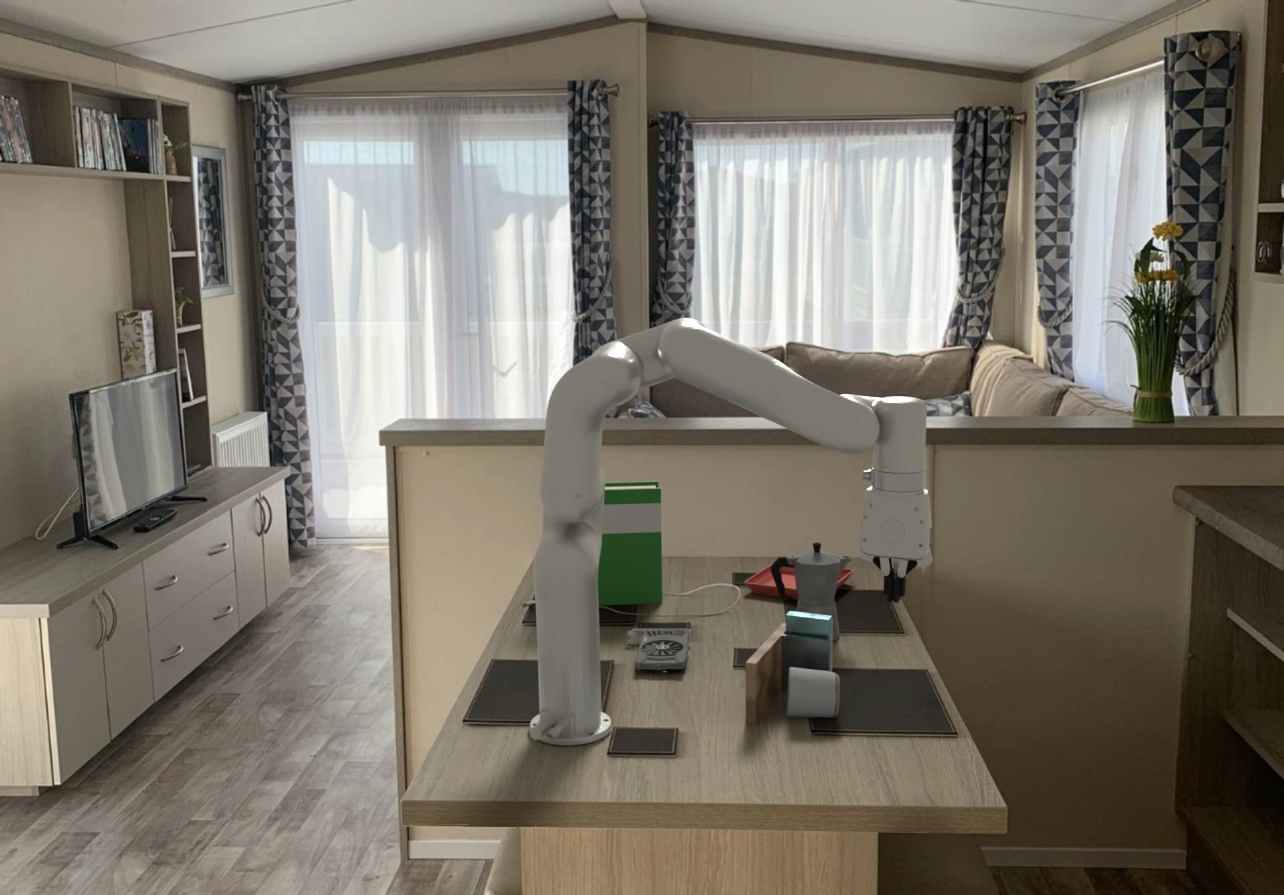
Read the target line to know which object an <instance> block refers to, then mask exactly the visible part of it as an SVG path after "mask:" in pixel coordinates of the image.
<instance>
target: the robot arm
mask: <svg viewBox="0 0 1284 895" xmlns="http://www.w3.org/2000/svg"><path fill="white" fill-rule="evenodd" d="M672 379H677V380H679V381H681V382H683V383H685V384H688V385H690V386H693V387H695V388H697V389H700V390H702V391H704V392H707V393H709V394H711V395H713V396H716V397H718V398H721V399H722V400H725V401H727V402H729V403H731V404H734V405H736V406H739V407H740V408H742V409H744V410H747V411H749V412H751V413H753V414H755V415H757V416H759V417H760V418H762V419H764V420H766V421H770V422H772V423H775V424H777V425H778V426H780V427H783V428H785V429H786V430H789V431H791V432H794V434H797V435H800V436H802V437H804V438H806V439H808V440H810V441H812V442H815V443H818V444H819V445H822V446H824V447H826V448H827V449H831V450H833V451H835V452H838V453H841V454H844V455H849V456H852V455H853V456H854V455H861V454H863V453H866V452H867V451H869V450H870V449H872V448H873V450H872V467H871V469H868V470H863V471H862V479H863V480H867V481H868V482H869V483H870V486H869V487H867V488H866V490H865V494H864V499H863V505H862V510H861V519H860V530H859V531H860V532H859V550H860V551H859V558H860V559H862V560H864V561H867V562H870V563H873V564H874V565H875V567H877V568H878V569H879V570H880V572H881V575H883V595H886V602H887V603H891V602H893V603H896V604H897V603H898V604H899V602H900V601H901V599H902V597H905V596H906V592H907V591H906V587H907V586H906V585H907V582H906V581H907V575H908V574H909V573H910V572H911V571H912V570H914V569H915V568H921V567H928V566H930V565H931V564H932V563H933V555H932V553H931V550H932V544H933V526H932V525H933V522H932V510H931V509H932V507H931V500H930V495H929V494H930V493H929V490H928V489H926V488H925V466H926V442H927V439H926V438H927V417H928V416H927V414H928V412H927V405H926V403H925V401H924V400H922V399H920V398H918V397H914V396H913V397H912V396H902V395H899V396H898V395H897V396H895V395H893V396H885V397H876V396H875V397H873V396H865V395H857V394H849V393H845V394H843V393H842V394H838V393H835V392H833V391H831V390H829V389H826V388H824V387H822V386H820V385H818V384H816V383H814V382H812V381H810V380H808V379H806V378H805V377H803V376H801V375H800V374H799V373H797V372H795V371H794V370H792V369H791V368H790V367H788V365H786V364H784V363H783V362H782V361H781V360H778V359H777V358H775V357H773V356H771V355H769V354H767V353H764V352H762V351H760V350H758V349H755V348H753V347H750V346H748V345H745V344H743V343H740V342H738V341H736V340H733V339H732V338H729V337H727V336H725V335H723V334H721V333H719V332H716V331H714V330H712V329H709V328H707V326H705V324H703V323H702V322H701V321H699V320H697V319H694V318H690V317H680V318H678V319H673V320H671V321H667V322H666V323H663V324H659V325H657V326H654V327H652V328H648V329H646V330H642V331H640V332H637V333H634V334H630V335H628V336H625V337H622V338H619V339H616V340H612V341H610V342H608V343H605V344H603V345H601V346H600V347H597V349H595V351H594V352H592V354H591V355H590V356H589V357H587V358H585V359H584V360H581V361H580V362H577V363H576V364H575V365H574V366H572V367H571V368H569V369H568V370H566V372H565V373H564V374H563V375H562V376H561V378H559V379H558V381H557V382H556V384H555V386H554V388H553V389H552V391H551V394H550V396H549V400H548V402H547V403H548V404H547V407H546V408H547V409H546V417H545V429H544V442H543V451H542V452H543V453H542V454H543V455H542V466H541V467H542V470H541V471H542V472H541V479H540V484H539V495H540V501H541V504H542V506H543V509H542V510H543V512H542V513H543V514H542V531H541V532H542V533H541V534H542V535H541V540H540V542H539V544H538V546H537V549H536V551H535V555H534V560H533V565H532V566H533V568H532V579H533V591H534V592H533V593H534V600H535V614H536V615H535V617H536V640H537V642H536V644H537V665H538V666H537V672H538V676H537V677H538V702H539V703H538V704H539V708H538V710H539V714H537V715H535V716H534V717H533V718H532V719H531V720H530V723H529V736H530V737H531V739H533V740H535V741H537V740H538V741H540V742H541V743H546V744H550V745H554V746H556V745H557V746H579V745H585V744H590V743H593V742H596V741H599V740H601V739H603V738H605V737H606V736H608V734H609V733H610V732H611V731H612V725H613V724H612V718H611V717H610V716H609V715H608V714H606V713H605V712H603V711H602V693H601V692H602V686H601V685H602V683H601V640H600V639H601V635H600V632H601V631H600V612H599V611H600V609H599V606H600V605H599V603H598V565H599V560H600V554H601V546H602V528H603V510H604V494H605V482H606V476H605V472H604V469H603V467H602V465H601V457H602V456H601V455H602V454H601V451H602V443H603V427H604V426H603V425H604V421H605V418H606V417H607V415H608V414H609V412H610V411H611V410H613V409H614V408H616V407H618V406H621V405H623V404H625V403H627V402H629V401H630V400H632V398H634V397H635V396H636V394H637V392H638V391H640V390H644V389H646V388H649V387H652V386H655V385H658V384H661V383H664V382H667V381H669V380H672ZM893 559H895V560H896V559H897V560H899V561H898V562H899V563H898V568H897V570H895V568H894V563H893Z"/></svg>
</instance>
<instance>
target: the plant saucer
mask: <svg viewBox="0 0 1284 895" xmlns="http://www.w3.org/2000/svg"><path fill="white" fill-rule="evenodd" d="M773 563H774V562H772V563H770V564H769V565H768V566H767V567H764V568H763V569H762V570H760V571H758V572H757V573H755V574H754V575H752V576H750V577H749V578H747V579H746V580H744V584H745V585H746V586H747V588H748V589H749V590H751V592H753V593H754V594H755V595H762V596H768V597H769V596H770V597H777V598H780V596H779V593H778V590H777V587H776V584H775V582H774V579H773V576H772V573H771V570H770V569H771V565H772V564H773ZM779 570H780V572H781V575H782V582H783V584H784V586H785V593H786V594H789V595H792V597H791V599H790V600H797V601H798V600H799V594H798V593H797V589H796V582H795V575H794V568H793V567H781V568H780V569H779ZM854 571H855V570H853V569H852V568H851V569H849V568H844V570H843V571H842V573H841V575H840V576H839V578H838V582H837V588H836V591H837V590H838V589H839V588H841V587H842V586H843V585H844V584H845V583H846V582H847V581H848V580H849V578H851V576H852V574H853V573H854Z"/></svg>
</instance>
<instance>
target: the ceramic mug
mask: <svg viewBox="0 0 1284 895" xmlns="http://www.w3.org/2000/svg"><path fill="white" fill-rule="evenodd" d="M840 679H841V678H840V675H839V674H837V673H836V672H833V671H832V672H830V671H822V670H812V669H803V668H795V667H790V668H789V672H788V692H787V694H786V695H787V696H786V697H787V698H786V717H790V718H792V717H794V718H795V717H796V718H818V717H824V718H823V719H825V718H826V719H827V718H828V717H829V718H835V717H837V715H838V714H839V711H840V695H841V688H840V686H841V684H840V683H841V681H840Z"/></svg>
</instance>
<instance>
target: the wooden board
mask: <svg viewBox="0 0 1284 895" xmlns="http://www.w3.org/2000/svg"><path fill="white" fill-rule="evenodd" d="M782 634H786V622H782V623H781V624H780V625H779V626H778V628H776V629H775V631H774V632H773V633H772V634H771V635H770V636H769V637H768V638H767V639H766V640H765V641H764V642H763V644H761V646H759V648H758V649H756V651H754V653H753V654H752V655H751V656H750V657H749V659H747V660H746V661H745V724H748V725H753V726H756V725H757V724H758V723H759V721H761V719H762V718H763V716H764V715H765V713H767V711H768V710H769V708H771V707H772V705H773V704H774V703H775V701H776V700H777V698H779V696H780V695H781V694H782V693H781V646H782Z"/></svg>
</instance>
